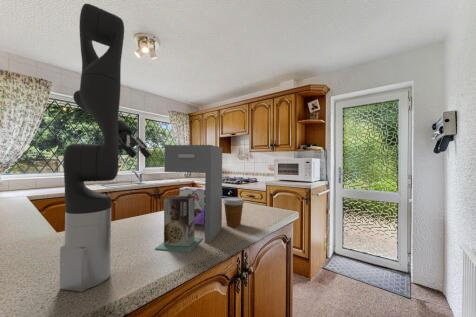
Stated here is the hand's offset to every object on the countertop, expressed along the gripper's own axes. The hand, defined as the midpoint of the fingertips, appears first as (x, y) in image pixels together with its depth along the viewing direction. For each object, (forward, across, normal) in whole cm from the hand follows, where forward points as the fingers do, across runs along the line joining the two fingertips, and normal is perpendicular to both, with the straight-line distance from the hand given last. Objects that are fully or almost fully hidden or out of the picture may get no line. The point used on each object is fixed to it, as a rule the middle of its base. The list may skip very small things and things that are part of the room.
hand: (142, 156), depth 79 cm
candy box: (+30, +23, +14) cm, 40 cm away
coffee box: (+33, -2, +10) cm, 35 cm away
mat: (+34, -2, +10) cm, 35 cm away
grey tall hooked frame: (+34, +9, +9) cm, 37 cm away
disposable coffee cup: (+44, +23, 0) cm, 49 cm away
